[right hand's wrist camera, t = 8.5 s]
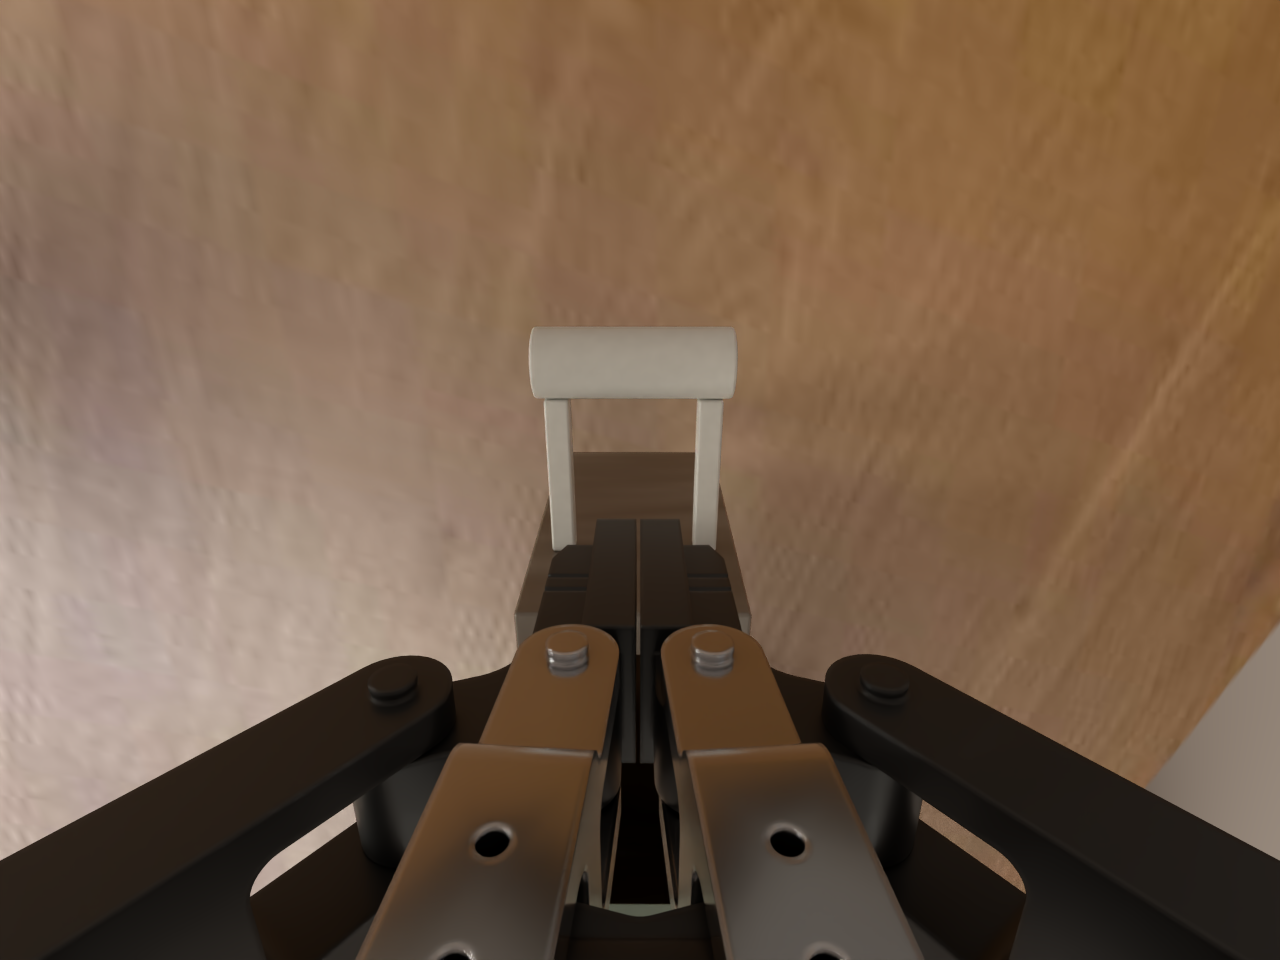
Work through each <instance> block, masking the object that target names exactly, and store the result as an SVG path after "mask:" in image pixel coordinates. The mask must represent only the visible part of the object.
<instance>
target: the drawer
mask: <svg viewBox="0 0 1280 960" xmlns="http://www.w3.org/2000/svg"><path fill="white" fill-rule="evenodd" d="M737 363H738V350H737V337H736V332H735V329H734V328H733V327H668V326H536V327H534V328H533V329H532V332H531V335H530V342H529V375H530V383H531V388H532V392H533V394H534V397H536V398H545V400H544V416H545V433H546V449H547V465H548V481H549V497H548V500H547V504H546V507H545V511H544V514H543V517H542V521H541V524H540V528H539V531H538V535H537V538H536V541H535V545H534V548H533V552H532V555H531V558H530V562H529V565H528V569H527V572H526V576H525V579H524V582H523V586H522V589H521V593H520V596H519V599H518V603H517V606H516V610H515V613H514V620H515V630H516V641H517V649H518V647H519V645H520V644H521V643H522V642H523V641H524V640H525V639H526V638H528V637H529V636H530V635H532V634H533V631H534V627H535V623H536V619H537V615H538V611H539V608H540V604H541V600H542V596H543V592H544V591H545V584H546V580H547V577H548V573H549V569H550V565H551V561H552V558H553V557H554V556H555V555H557V554H558V553H559V552H560V551H561V550H562V549H563V548H564V547H565V546H567V545H593V542H594V535H595V528H596V521H597V518H636V520H637V646H636V763H621V817H620V825H619V833H618V841H617V849H616V857H615V865H614V873H613V881H612V889H611V897H610V904H670V897H669V889H668V881H667V873H666V865H665V857H664V849H663V841H662V833H661V825H660V817H659V794H658V792H657V790H656V787H655V780H654V763H640V519H680V525H681V532H682V540H683V545H710V546H711V547H712V548H713V549H714V550H715V551H716V552H718V553H719V554H720V555H721V556H722V557H723V558H724V560H725V564H726V568H727V572H728V578H729V580H730V584H731V591H732V592H733V596H734V600H735V604H736V608H737V612H738V616H739V620H740V624H741V628H742V632H745V633H746V634H748V635H750V627H751V612H750V607H749V603H748V599H747V595H746V591H745V587H744V583H743V578H742V574H741V570H740V566H739V562H738V558H737V553H736V549H735V545H734V541H733V537H732V533H731V529H730V524H729V520H728V516H727V512H726V508H725V504H724V499H723V495H722V491H721V487H720V483H719V481H720V462H721V444H722V425H723V406H724V402H723V400H722V399H730V398H732V397H733V395H734V392H735V387H736V380H737ZM571 399H697V416H696V443H695V453H679V452H573V440H572V417H571Z"/></svg>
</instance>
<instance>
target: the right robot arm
mask: <svg viewBox="0 0 1280 960" xmlns="http://www.w3.org/2000/svg"><path fill="white" fill-rule="evenodd" d="M636 646H637V520H636V518H597V521H596V528H595V535H594V542H593V545H567V546H565V547H564V548H563V549H562V550H561V551H560V552H559V553H558V554H557V555H555V556H554V557H553V558H552V561H551V565H550V569H549V573H548V577H547V580H546V584H545V591H544V592H543V596H542V600H541V604H540V608H539V611H538V615H537V619H536V623H535V627H534V631H533V634H532V635H530V636H529V637H528V638H526V639H525V640H524V641H523V642H522V643H521V644H520V645H519V647H518V649H517V651H516V653H515V656H514V658H513V661H512V663H511V664H509V665H508V666H506V667H504V668H502V669H499V670H497V671H494V672H492V673H489V674H485V675H481V676H477V677H472V678H468V679H463V680H458V681H453V682H452V676H451V673H450V671H449V669H448V668H447V667H446V666H445V665H444V664H443V663H441V662H439V661H437V660H435V659H432V658H429V657H423V656H399V657H393V658H389V659H385V660H381V661H378V662H376V663H373V664H371V665H368V666H366V667H364V668H362V669H360V670H358V671H357V672H355V673H353V674H351V675H349V676H347V677H345V678H343V679H341V680H340V681H338V682H336V683H334V684H332V685H330V686H328V687H326V688H325V689H323V690H321V691H319V692H317V693H315V694H313V695H311V696H309V697H308V698H306V699H304V700H302V701H300V702H298V703H296V704H294V705H293V706H291V707H289V708H287V709H285V710H283V711H281V712H279V713H277V714H276V715H274V716H272V717H270V718H268V719H266V720H264V721H262V722H261V723H259V724H257V725H255V726H253V727H251V728H249V729H247V730H245V731H244V732H242V733H240V734H238V735H236V736H234V737H232V738H230V739H229V740H227V741H225V742H223V743H221V744H219V745H217V746H215V747H213V748H212V749H210V750H208V751H206V752H204V753H202V754H200V755H198V756H197V757H195V758H193V759H191V760H189V761H187V762H185V763H183V764H181V765H180V766H178V767H176V768H174V769H172V770H170V771H168V772H166V773H165V774H163V775H161V776H159V777H157V778H155V779H153V780H151V781H149V782H148V783H146V784H144V785H142V786H140V787H138V788H136V789H134V790H133V791H131V792H129V793H127V794H125V795H123V796H121V797H119V798H117V799H116V800H114V801H112V802H110V803H108V804H106V805H104V806H102V807H101V808H99V809H97V810H95V811H93V812H91V813H89V814H87V815H85V816H84V817H82V818H80V819H78V820H76V821H74V822H72V823H70V824H69V825H67V826H65V827H63V828H61V829H59V830H57V831H55V832H53V833H52V834H50V835H48V836H46V837H44V838H42V839H40V840H38V841H37V842H35V843H33V844H31V845H29V846H27V847H25V848H23V849H21V850H20V851H18V852H16V853H14V854H12V855H10V856H8V857H6V858H5V859H3V860H1V861H0V960H1280V861H1279V860H1277V859H1275V858H1274V857H1272V856H1270V855H1268V854H1266V853H1264V852H1262V851H1260V850H1259V849H1257V848H1255V847H1253V846H1251V845H1249V844H1247V843H1245V842H1243V841H1241V840H1240V839H1238V838H1236V837H1234V836H1232V835H1230V834H1228V833H1226V832H1225V831H1223V830H1221V829H1219V828H1217V827H1215V826H1213V825H1211V824H1210V823H1208V822H1206V821H1204V820H1202V819H1200V818H1198V817H1196V816H1194V815H1193V814H1191V813H1189V812H1187V811H1185V810H1183V809H1181V808H1179V807H1178V806H1176V805H1174V804H1172V803H1170V802H1168V801H1166V800H1164V799H1163V798H1161V797H1159V796H1157V795H1155V794H1153V793H1151V792H1149V791H1147V790H1146V789H1144V788H1142V787H1140V786H1138V785H1136V784H1134V783H1132V782H1131V781H1129V780H1127V779H1125V778H1123V777H1121V776H1119V775H1117V774H1115V773H1114V772H1112V771H1110V770H1108V769H1106V768H1104V767H1102V766H1100V765H1099V764H1097V763H1095V762H1093V761H1091V760H1089V759H1087V758H1085V757H1083V756H1082V755H1080V754H1078V753H1076V752H1074V751H1072V750H1070V749H1068V748H1067V747H1065V746H1063V745H1061V744H1059V743H1057V742H1055V741H1053V740H1051V739H1050V738H1048V737H1046V736H1044V735H1042V734H1040V733H1038V732H1036V731H1035V730H1033V729H1031V728H1029V727H1027V726H1025V725H1023V724H1021V723H1019V722H1018V721H1016V720H1014V719H1012V718H1010V717H1008V716H1006V715H1004V714H1003V713H1001V712H999V711H997V710H995V709H993V708H991V707H989V706H987V705H986V704H984V703H982V702H980V701H978V700H976V699H974V698H972V697H971V696H969V695H967V694H965V693H963V692H961V691H959V690H957V689H955V688H954V687H952V686H950V685H948V684H946V683H944V682H942V681H940V680H939V679H937V678H935V677H933V676H931V675H929V674H927V673H925V672H923V671H922V670H920V669H918V668H916V667H914V666H912V665H910V664H908V663H906V662H903V661H900V660H897V659H894V658H890V657H886V656H881V655H872V654H858V655H852V656H848V657H844V658H842V659H840V660H837V661H836V662H835V663H833V664H832V665H831V666H830V667H829V669H828V670H827V673H826V677H825V682H820V681H816V680H811V679H806V678H802V677H797V676H793V675H789V674H786V673H783V672H780V671H777V670H775V669H773V668H771V667H770V665H769V663H768V661H767V658H766V656H765V653H764V651H763V649H762V647H761V645H760V644H759V643H758V642H757V641H756V640H755V639H754V638H752V637H751V636H750V635H748V634H746V633H745V632H742V628H741V624H740V620H739V616H738V612H737V608H736V604H735V600H734V596H733V592H732V591H731V584H730V580H729V578H728V572H727V568H726V564H725V560H724V558H723V557H722V556H721V555H720V554H719V553H718V552H716V551H715V550H714V549H713V548H712V547H711V546H710V545H683V540H682V532H681V525H680V519H640V763H654V780H655V787H656V790H657V792H658V794H659V817H660V825H661V833H662V841H663V849H664V857H665V865H666V873H667V881H668V889H669V897H670V905H671V910H669V911H665V912H661V913H658V914H654V915H649V916H631V915H626V914H622V913H619V912H615V911H611V910H609V905H610V897H611V889H612V881H613V873H614V865H615V857H616V849H617V841H618V833H619V825H620V817H621V763H636ZM922 800H924V801H926V802H927V803H929V804H930V805H932V806H933V807H935V808H936V809H938V810H939V811H941V812H942V813H943V814H945V815H946V816H948V817H949V818H951V819H952V820H954V821H955V822H957V823H958V824H960V825H961V826H963V827H964V828H965V829H967V830H968V831H970V832H971V833H973V834H974V835H976V836H977V837H979V838H980V839H982V840H983V841H984V842H986V843H987V844H989V845H990V846H992V847H993V848H995V849H996V850H997V851H999V852H1000V853H1001V854H1003V855H1004V856H1005V857H1006V858H1007V859H1008V860H1009V861H1010V862H1011V864H1012V865H1013V866H1014V867H1015V869H1016V870H1017V871H1018V873H1019V875H1020V877H1021V878H1022V881H1023V883H1024V886H1025V890H1026V894H1025V893H1023V892H1022V891H1020V890H1019V889H1018V888H1016V887H1015V886H1013V885H1012V884H1011V883H1009V882H1008V881H1006V880H1005V879H1003V878H1002V877H1001V876H999V875H998V874H996V873H995V872H994V871H992V870H991V869H989V868H988V867H987V866H985V865H984V864H982V863H981V862H979V861H978V860H977V859H975V858H974V857H972V856H971V855H970V854H968V853H967V852H965V851H964V850H963V849H961V848H960V847H958V846H957V845H955V844H954V843H953V842H951V841H950V840H948V839H947V838H946V837H944V836H943V835H941V834H940V833H938V832H937V831H936V830H934V829H933V828H931V827H930V826H929V825H927V824H926V823H924V822H923V821H922V820H920V819H919V815H920V810H921V805H922ZM351 803H353V806H354V811H355V816H356V821H357V822H356V823H354V824H353V825H351V826H350V827H349V828H347V829H346V830H344V831H343V832H341V833H340V834H339V835H337V836H336V837H334V838H333V839H332V840H330V841H329V842H327V843H326V844H325V845H323V846H322V847H320V848H319V849H317V850H316V851H315V852H313V853H312V854H310V855H309V856H308V857H306V858H305V859H303V860H302V861H301V862H299V863H298V864H296V865H295V866H293V867H292V868H291V869H289V870H288V871H286V872H285V873H284V874H282V875H281V876H279V877H278V878H276V879H275V880H274V881H272V882H271V883H269V884H268V885H267V886H265V887H264V888H262V889H261V890H260V891H258V892H257V893H255V894H254V895H252V896H251V897H250V892H251V889H252V886H253V883H254V881H255V879H256V878H257V876H258V874H259V873H260V871H261V870H262V869H263V867H264V866H265V865H266V864H267V863H268V862H269V861H270V860H271V859H272V858H273V857H274V856H276V855H277V854H278V853H279V852H281V851H282V850H284V849H285V848H287V847H288V846H290V845H291V844H293V843H294V842H295V841H297V840H298V839H300V838H301V837H303V836H304V835H306V834H307V833H309V832H310V831H312V830H313V829H315V828H316V827H317V826H319V825H320V824H322V823H323V822H325V821H326V820H328V819H329V818H331V817H332V816H334V815H335V814H337V813H338V812H339V811H341V810H342V809H344V808H345V807H347V806H348V805H350V804H351Z"/></svg>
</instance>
